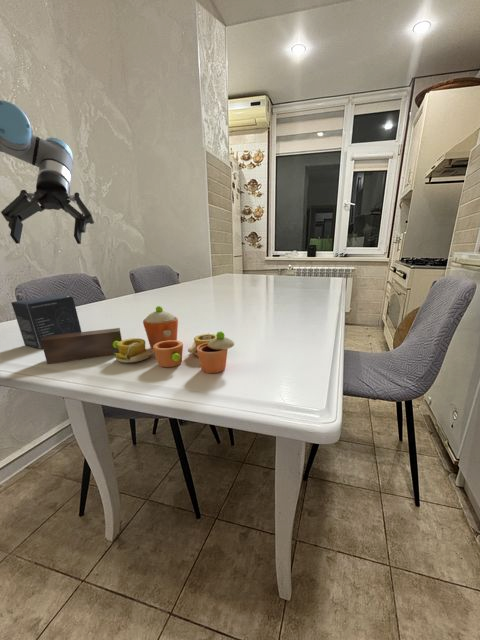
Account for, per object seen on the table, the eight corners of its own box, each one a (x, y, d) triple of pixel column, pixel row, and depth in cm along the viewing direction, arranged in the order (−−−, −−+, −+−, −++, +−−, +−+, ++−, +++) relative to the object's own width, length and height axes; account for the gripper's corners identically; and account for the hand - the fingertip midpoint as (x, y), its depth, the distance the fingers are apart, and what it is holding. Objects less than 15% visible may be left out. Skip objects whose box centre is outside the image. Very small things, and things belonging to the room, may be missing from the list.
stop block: (47, 364, 58) (40, 340, 56) (49, 358, 60) (43, 336, 59) (124, 353, 64) (120, 331, 62) (123, 348, 66) (119, 327, 65)
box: (67, 333, 77) (58, 294, 74) (83, 336, 75) (75, 296, 71) (22, 345, 68) (9, 301, 65) (39, 349, 66) (26, 303, 62)
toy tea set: (103, 363, 58) (94, 316, 55) (152, 340, 72) (147, 301, 69) (221, 380, 51) (219, 327, 48) (251, 351, 65) (250, 308, 62)
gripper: (106, 197, 88) (105, 250, 80) (9, 193, 81) (-4, 250, 73) (99, 173, 82) (97, 228, 73) (-8, 166, 75) (-24, 226, 66)
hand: (46, 239), depth 73 cm, fingers open, 13 cm apart
